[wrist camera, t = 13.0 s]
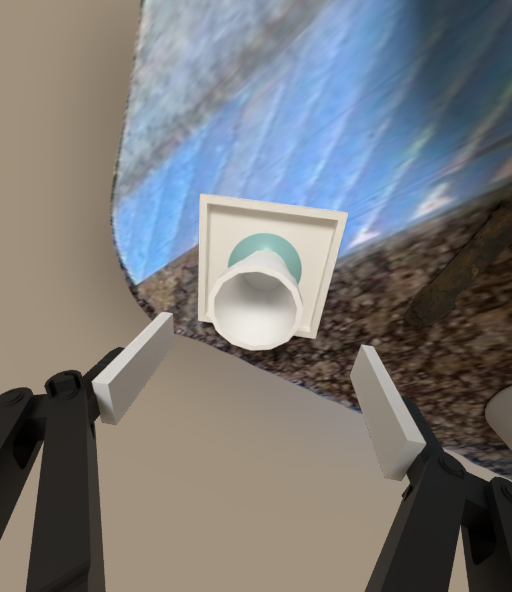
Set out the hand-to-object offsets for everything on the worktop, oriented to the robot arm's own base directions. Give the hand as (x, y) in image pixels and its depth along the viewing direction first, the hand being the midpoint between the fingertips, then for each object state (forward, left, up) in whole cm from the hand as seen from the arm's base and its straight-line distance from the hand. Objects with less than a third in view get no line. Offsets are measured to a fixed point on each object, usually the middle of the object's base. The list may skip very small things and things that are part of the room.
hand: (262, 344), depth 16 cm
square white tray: (+1, -1, -21) cm, 21 cm away
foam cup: (+1, -1, -20) cm, 20 cm away
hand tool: (-3, +25, -21) cm, 33 cm away
